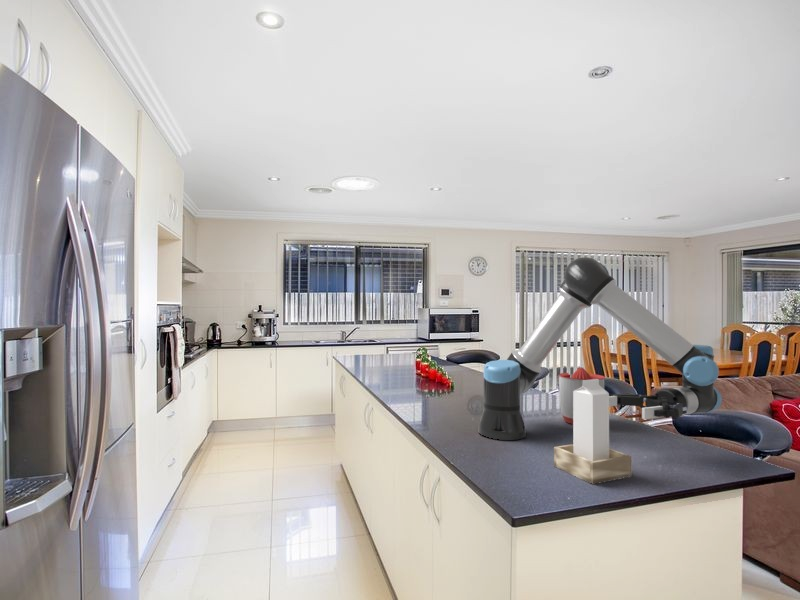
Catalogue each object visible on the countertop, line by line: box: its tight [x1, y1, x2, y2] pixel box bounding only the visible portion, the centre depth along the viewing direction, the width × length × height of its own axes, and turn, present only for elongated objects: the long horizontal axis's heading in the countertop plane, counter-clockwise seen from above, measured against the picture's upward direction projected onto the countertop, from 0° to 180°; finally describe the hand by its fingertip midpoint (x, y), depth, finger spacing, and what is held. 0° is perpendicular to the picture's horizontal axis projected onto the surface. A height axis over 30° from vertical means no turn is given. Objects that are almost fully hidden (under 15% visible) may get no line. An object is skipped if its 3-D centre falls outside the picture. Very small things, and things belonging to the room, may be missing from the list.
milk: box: [572, 379, 610, 461], centre depth 110 cm, size 6×6×22 cm
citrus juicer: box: [558, 366, 606, 426], centre depth 158 cm, size 16×17×20 cm
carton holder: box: [553, 443, 632, 485], centre depth 109 cm, size 13×13×5 cm
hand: (619, 407), depth 114 cm, fingers open, 13 cm apart
